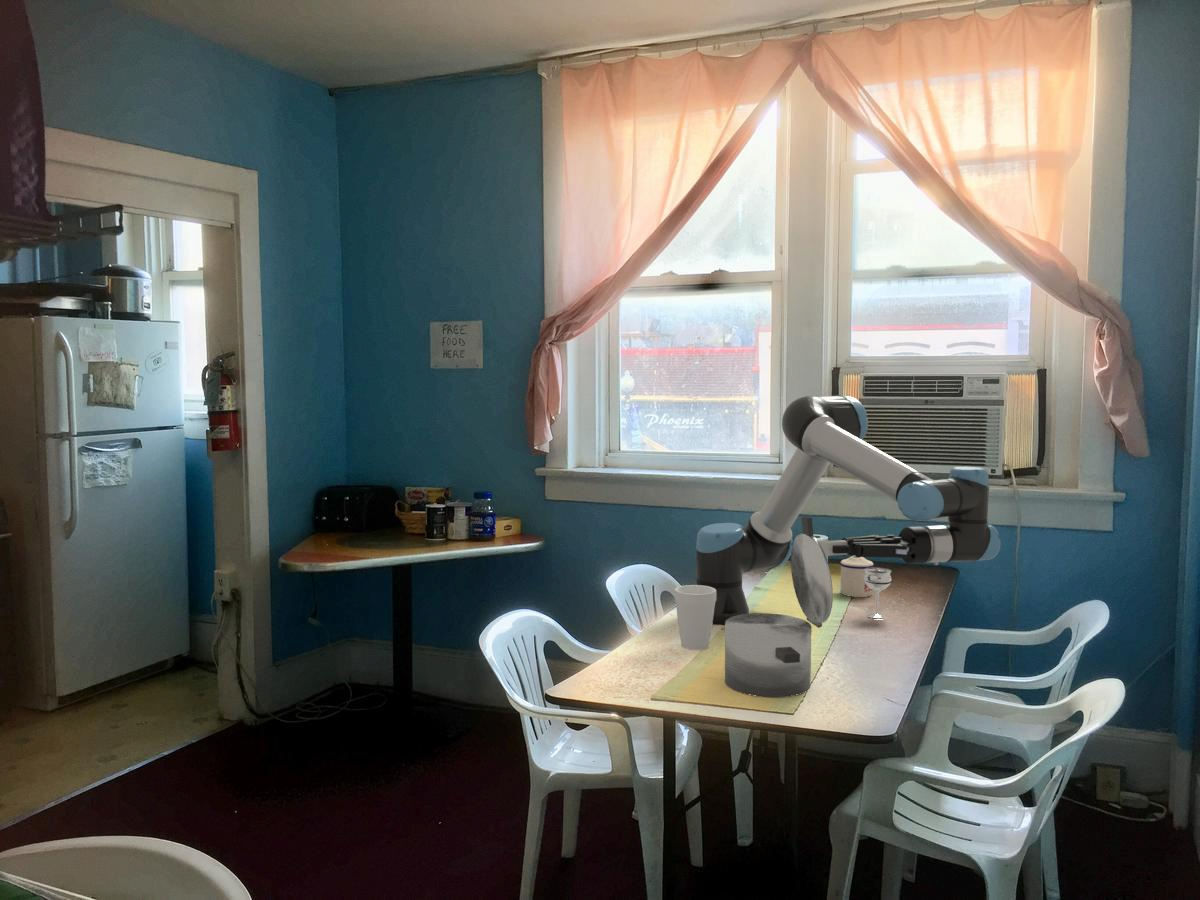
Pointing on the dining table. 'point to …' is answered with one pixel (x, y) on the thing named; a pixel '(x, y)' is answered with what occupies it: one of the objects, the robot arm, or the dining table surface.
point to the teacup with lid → (855, 576)
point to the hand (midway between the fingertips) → (815, 548)
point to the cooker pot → (767, 654)
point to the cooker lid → (811, 575)
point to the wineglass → (877, 583)
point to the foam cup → (695, 615)
